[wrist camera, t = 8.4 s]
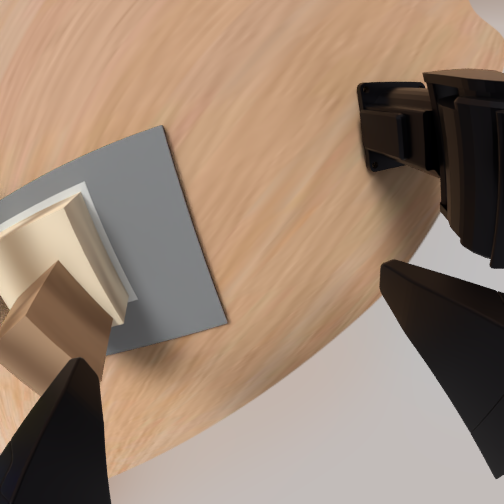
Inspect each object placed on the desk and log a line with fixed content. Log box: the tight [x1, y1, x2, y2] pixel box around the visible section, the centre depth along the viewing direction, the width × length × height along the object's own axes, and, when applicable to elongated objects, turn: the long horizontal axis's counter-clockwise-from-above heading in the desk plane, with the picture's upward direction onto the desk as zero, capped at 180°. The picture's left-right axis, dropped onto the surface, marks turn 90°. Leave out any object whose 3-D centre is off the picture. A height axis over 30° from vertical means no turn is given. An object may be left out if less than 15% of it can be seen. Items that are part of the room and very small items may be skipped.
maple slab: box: [0, 192, 129, 327], centre depth 15 cm, size 8×8×3 cm
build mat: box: [0, 125, 227, 355], centre depth 18 cm, size 16×15×1 cm
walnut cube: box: [0, 260, 113, 396], centre depth 13 cm, size 5×5×5 cm
